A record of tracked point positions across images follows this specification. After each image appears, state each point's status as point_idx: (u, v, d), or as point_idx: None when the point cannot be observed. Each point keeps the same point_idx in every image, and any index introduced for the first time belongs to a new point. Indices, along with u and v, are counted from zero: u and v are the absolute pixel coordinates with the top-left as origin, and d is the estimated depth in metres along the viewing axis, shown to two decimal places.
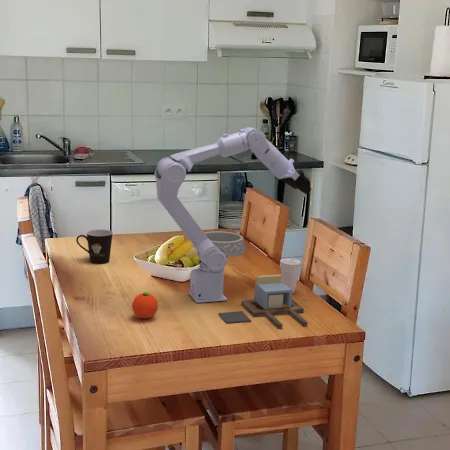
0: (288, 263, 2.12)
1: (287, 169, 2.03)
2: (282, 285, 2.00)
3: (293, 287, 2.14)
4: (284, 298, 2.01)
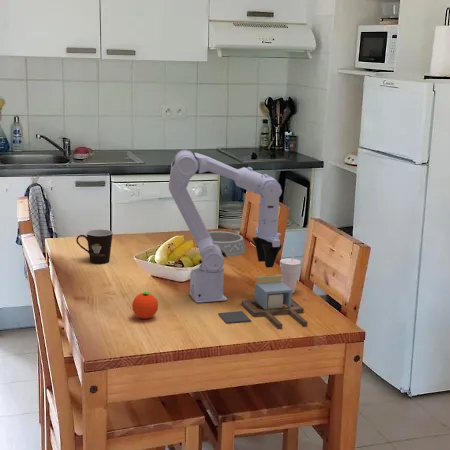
0: (288, 263, 2.12)
1: (272, 235, 2.02)
2: (282, 285, 2.00)
3: (293, 287, 2.14)
4: (284, 298, 2.01)
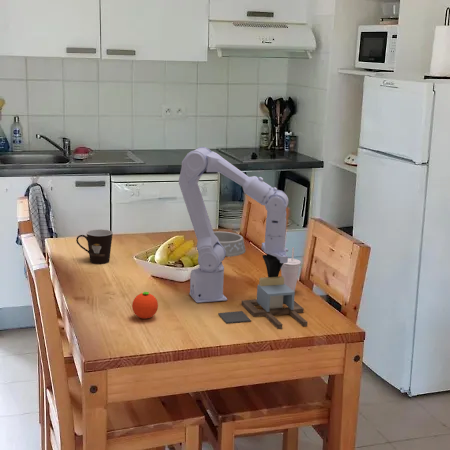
0: (288, 263, 2.12)
1: (279, 251, 1.98)
2: (285, 287, 1.99)
3: (293, 287, 2.14)
4: (287, 300, 1.99)
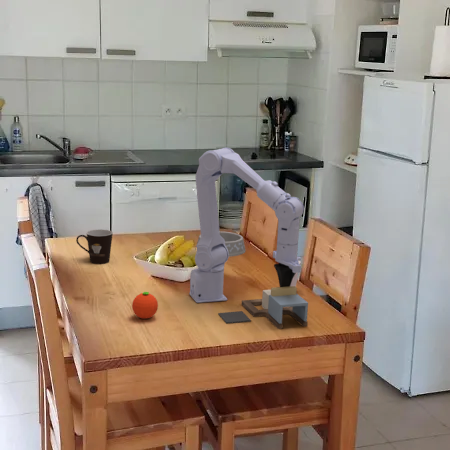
0: None
1: (292, 260, 1.90)
2: (297, 297, 1.91)
3: None
4: (299, 311, 1.91)
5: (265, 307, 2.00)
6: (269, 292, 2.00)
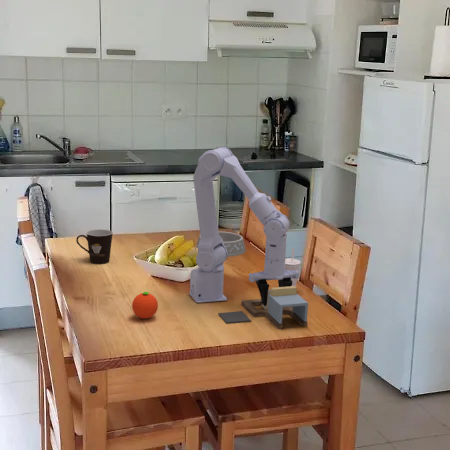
0: (288, 263, 2.12)
1: (265, 273, 1.97)
2: (297, 297, 1.91)
3: None
4: (299, 311, 1.91)
5: (265, 307, 2.00)
6: (269, 292, 1.99)
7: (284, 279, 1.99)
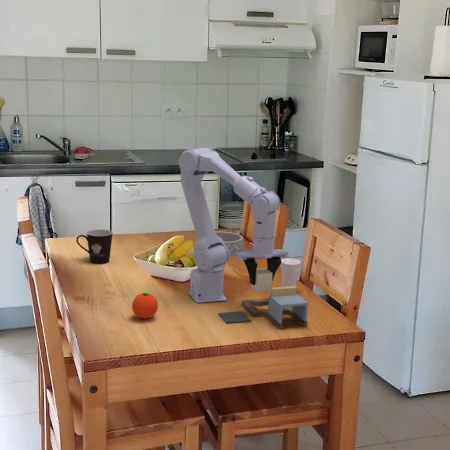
0: (288, 263, 2.12)
1: (253, 251, 1.93)
2: (297, 297, 1.91)
3: None
4: (299, 311, 1.91)
5: (254, 286, 1.95)
6: (258, 271, 1.95)
7: (273, 258, 1.95)
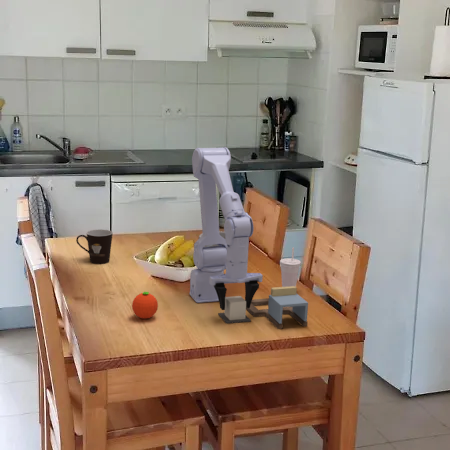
0: (288, 263, 2.12)
1: (226, 276, 1.89)
2: (297, 297, 1.91)
3: None
4: (299, 311, 1.91)
5: (227, 315, 1.91)
6: (231, 299, 1.91)
7: (250, 282, 1.91)
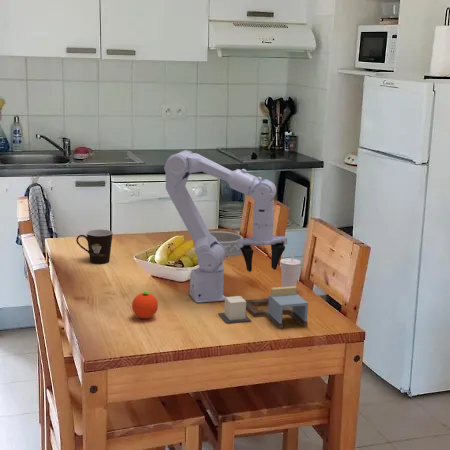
0: (288, 263, 2.12)
1: (253, 238, 1.98)
2: (297, 297, 1.91)
3: None
4: (299, 311, 1.91)
5: (227, 315, 1.91)
6: (231, 299, 1.91)
7: (277, 244, 2.00)
